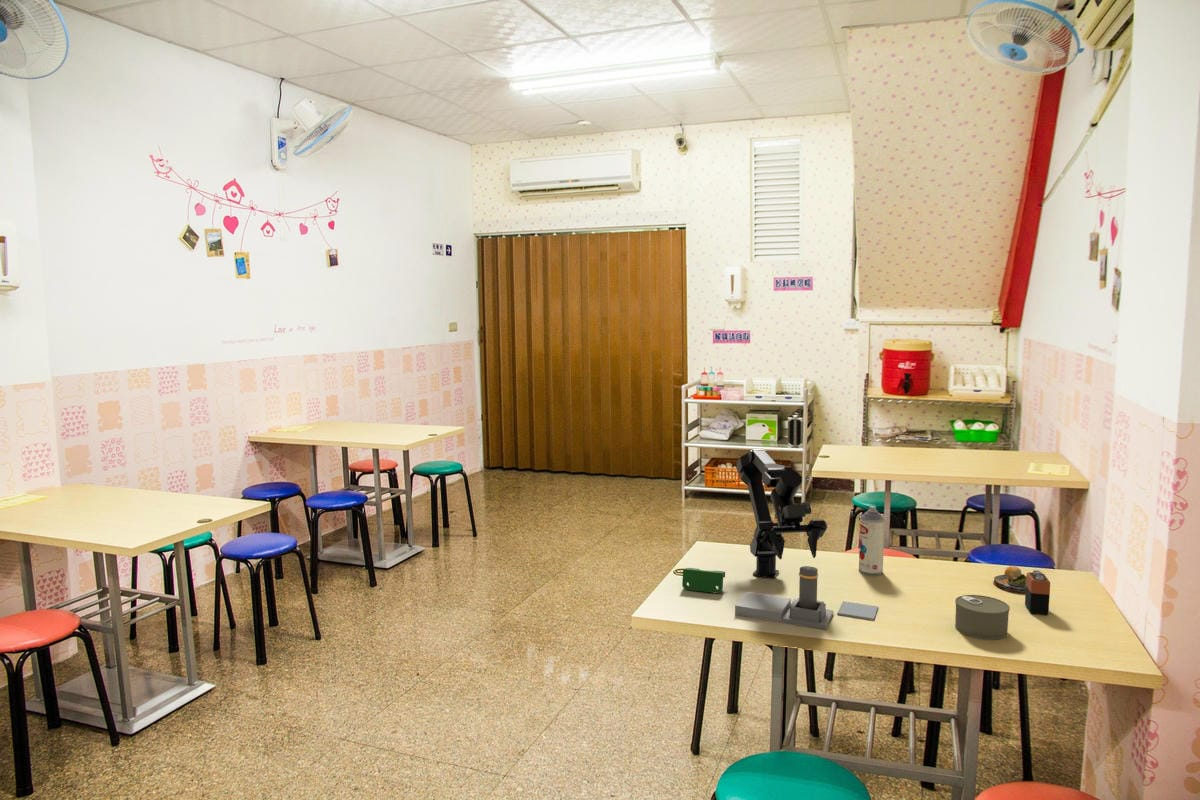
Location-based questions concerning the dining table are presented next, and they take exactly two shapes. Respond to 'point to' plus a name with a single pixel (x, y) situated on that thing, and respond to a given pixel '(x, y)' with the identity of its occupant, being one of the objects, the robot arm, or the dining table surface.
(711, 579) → the clamp
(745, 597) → the socket block
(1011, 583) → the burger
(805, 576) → the plug
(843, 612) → the mat
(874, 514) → the aerosol can
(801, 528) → the robot arm
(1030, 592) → the battery
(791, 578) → the dining table surface
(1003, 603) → the can
